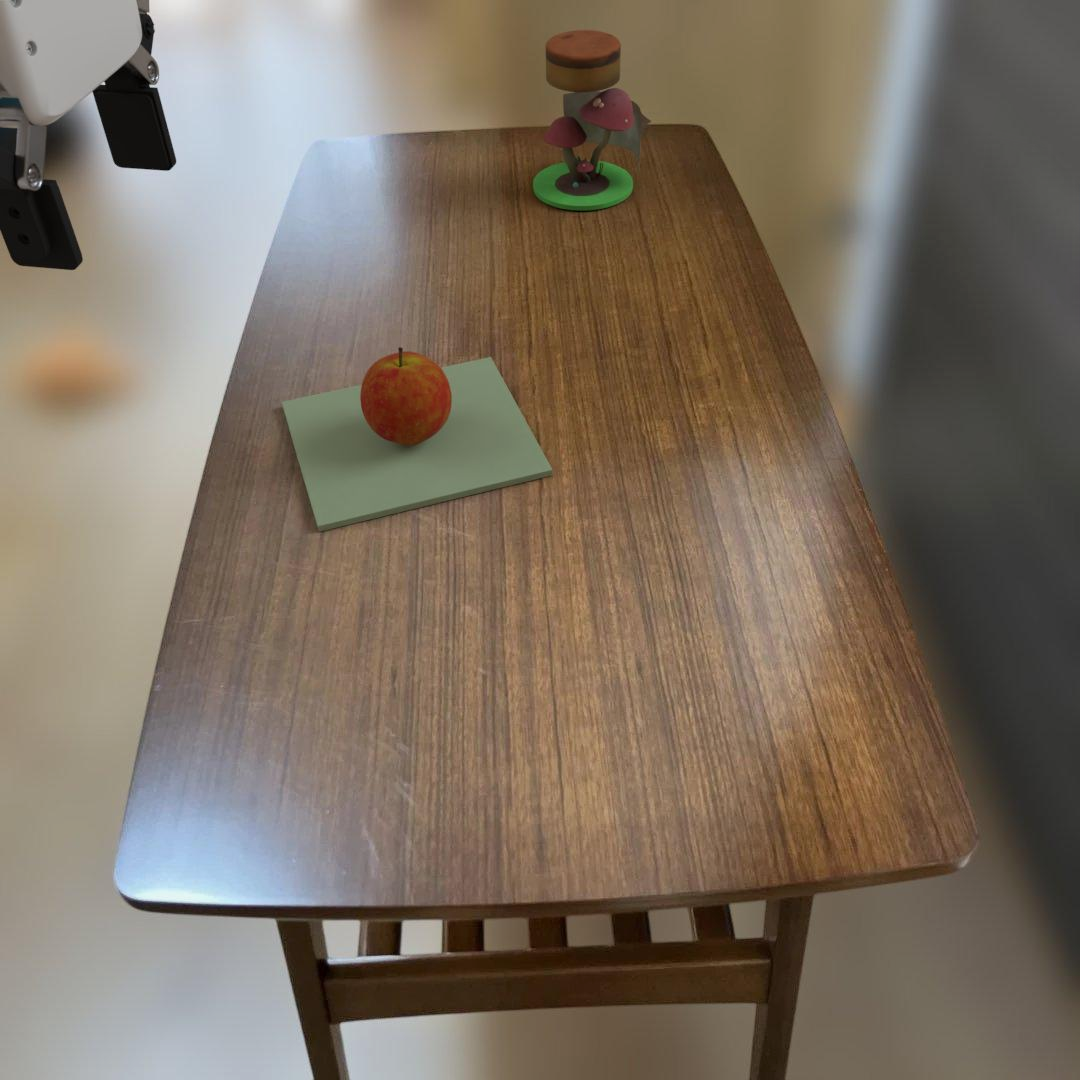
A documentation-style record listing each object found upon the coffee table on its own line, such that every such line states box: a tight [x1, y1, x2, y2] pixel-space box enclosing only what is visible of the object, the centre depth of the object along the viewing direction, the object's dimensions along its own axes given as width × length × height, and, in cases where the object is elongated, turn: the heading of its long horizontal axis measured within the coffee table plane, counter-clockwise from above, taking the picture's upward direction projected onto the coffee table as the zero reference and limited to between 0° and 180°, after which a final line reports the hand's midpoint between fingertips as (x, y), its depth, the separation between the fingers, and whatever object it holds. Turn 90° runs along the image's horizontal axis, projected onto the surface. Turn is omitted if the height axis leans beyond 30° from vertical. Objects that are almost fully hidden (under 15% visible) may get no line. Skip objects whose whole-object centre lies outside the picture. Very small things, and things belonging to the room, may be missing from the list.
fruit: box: [360, 346, 452, 446], centre depth 85 cm, size 7×7×8 cm
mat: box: [281, 356, 553, 533], centre depth 88 cm, size 18×16×1 cm
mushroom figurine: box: [532, 29, 652, 212], centre depth 114 cm, size 12×13×15 cm
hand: (101, 212), depth 53 cm, fingers open, 9 cm apart
